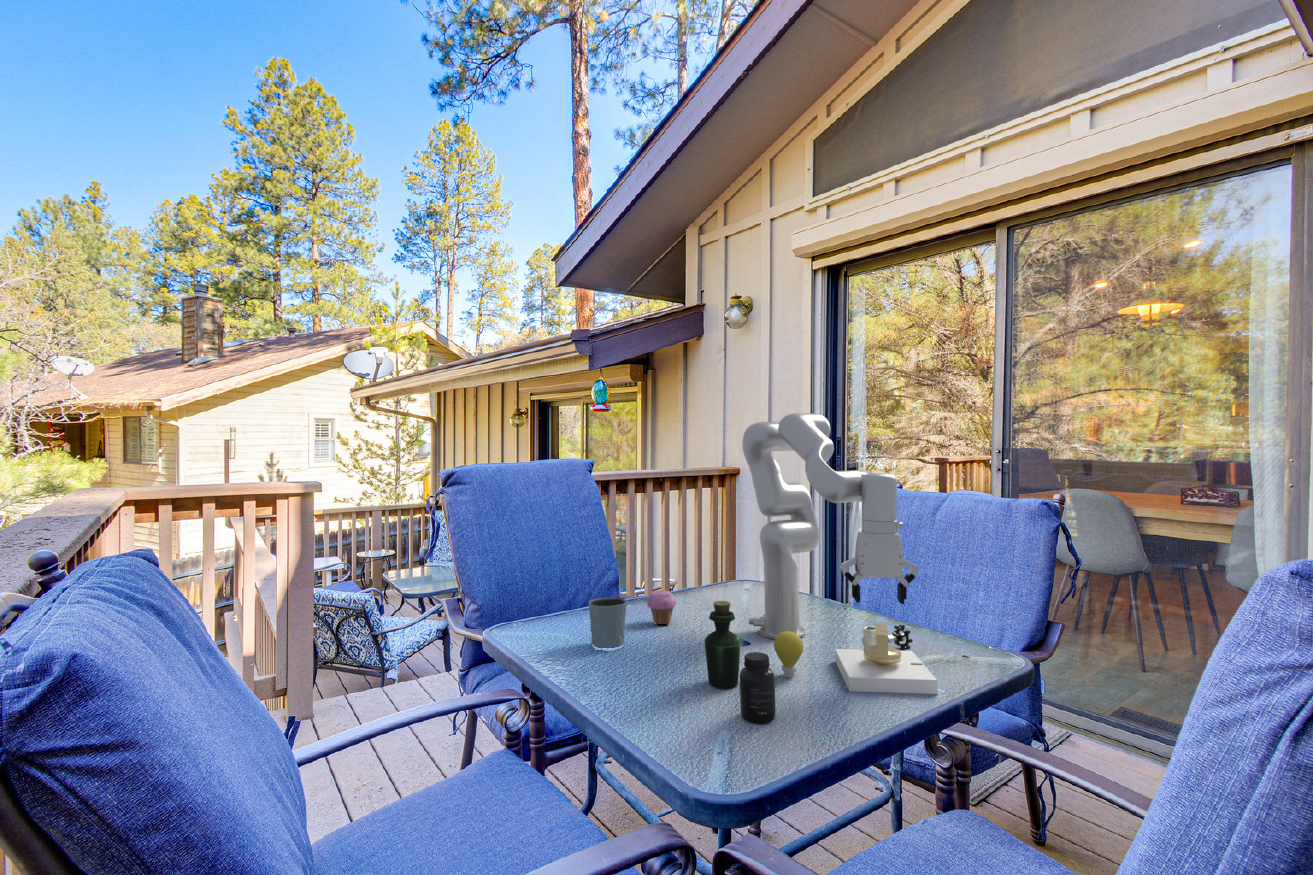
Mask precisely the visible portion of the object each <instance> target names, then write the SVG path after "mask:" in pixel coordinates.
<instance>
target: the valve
mask: <svg viewBox="0 0 1313 875" xmlns="http://www.w3.org/2000/svg"><path fill="white" fill-rule="evenodd" d="M893 627H894V631H893V632H892V633H891V634H890V635H889V634H888V644H890V643H894V645H895V646H898V647H899V651H910V650H911V645H910V644H912V643H913V638H912V637H910V636H909V635H910V634H911V630H910V629H905V628H906V626H905V624H902V623H901V624H899V625H898V624H897V625H895V624H894V625H893ZM900 632H903V633H900ZM904 641H905V642H904ZM861 642H862V645H863V649H864V648H865V647H867V646H871V645H876V626H870V625H868V626H863V636H862V641H861Z"/></svg>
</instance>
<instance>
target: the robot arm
mask: <svg viewBox="0 0 1313 875" xmlns="http://www.w3.org/2000/svg"><path fill="white" fill-rule="evenodd" d="M830 424H831V423H830V422H829V421H828V419H827V418H826V417H825V416H824V415H821V413H820V414H819V413H811V412H810V413H808V412H807V413H806V412H805V413H804V412H803V413H799V412H798V413H796V412H795V413H790V414H789V413H788V414H787V415H785V416H784V417H782V418H781V419H780V421H760V422H754V423H752V424H750V425H749V426H748V427H747V428H746V429H745V430H744V433H743V436H742V443H741V444H742V446H741V447H742V452H743V456H744V458H745V461H746V463H747V465H748V468H749V471H750V474H751V479H752V484H753V488H754V492H755V497H756V501H757V502H756V503H757V506H758V509H759V512H760V513H761V514H762V515H763V516H765V517H769V518H770V517H771V518H772V517H773V518H774V517H788V516H789V517H790V519H783V520H774V521H770V522H767V523H766V524H764V526H762V528H761V529H760V532H759V542H760V547H761V552H762V560H763V579H764V580H763V581H764V582H763V583H764V585H763V586H764V613H763V614H762V615H763V616H759V617H748V625H753V627H759V633H760V634H761V635H762V636H764V637H766V638H769V639H772V640H775V639H776V637H777V636H778V635H779V634H780V633H782V632H785V631H790V632H793V633H795V634H797V635H798V636H799V637H800V638H801V639H802V638H803V637H804V636H806V628H804V627H803V626H801V625H800V623H801V622H800V591H799V590H800V588H799V587H800V582H799V580H800V579H799V578H800V577H799V567H798V565H797V564H796V562H795V560H794V559H793V557H792V555H793V554H803V553H807V552H811V551H814V550H816V548H818V547H819V546H818V545H819V544H820V530H819V525H818V521H817V516H816V512H815V508H814V504H813V499H812V496H811V494H810V492H809V490H808V488H807V487H806V486H805V485H804V484H802V483H798V482H785V481H784V479H783V478H784V477H783V475H782V471H781V468H780V466H779V464H778V462H777V461H776V459H775V458H774V456H772V455H771V454H770V452H778V451H779V452H783V451H784V452H786V451H788V452H790V451H794V452H795V453H796V454H797V455H798V456H799V457H800V458H801V459H802V460H803V461H804V462H805V463H804V464H805V465H804V470H805V475H806V478H807V479H806V480H807V481H808V483H809V484H810V486H811V487H812V489H814V491H816V492H817V493H818V494H819V495H820V496H821V497H822V498H823V499H825V500H826V501H828V502H830V503H833V504H843V503H859V502H861V531H858V532H857V536H856V539H855V540H856V543H855V547H854V548H855V549H854V550H855V551H854V557H851V558H850V559H848V560H845V561H844V562H841V563H840V564H839V568H840V569H841V571H842V574H843V575H844V576H845V578H846V579H847V580H848V581H849V582H850V583H851V597H852V598H853V599H854V601H855V602H856V603H857V604H859V603H861V585H860V582H861V581H862V580H863V579H864V578H869V579H870V578H875V579H876V578H877V579H897V580H898V583H897V587H896V588H897V591H896V592H897V599H896V600H897V601H898V603H900V604H901V605H905V600H907V596H908V595H907V594H908V593H907V589H908V586H909V585H910V583H911V582H912V581H914V580H915V578H916V575H917V574H918V572H919V571H920V567H919V566H918V565H917V564H915V563H912V562H911V561H909V560H907V559H905V558H904V554H903V553H904V552H903V546H902V539H901V535H900V533H899V532H898V530H900V529H904V523H903V522H900V521H898V519H897V516H898V513H897V511H898V510H897V508H898V507H897V498H898V496H897V492H898V490H897V487H898V485H897V484H898V482H897V478H896V476H895V475H894V474H891V473H885V472H872V471H869V470H860V469H859V470H837V471H836V470H834V469H833V468H831V466H829V465H828V464H827V462H828V461H829V460H830V459H831V458H832V456H833V454H834V450H835V447H834V446H835V445H834V443H833V441H832V439H830V436H831V429H832V428H831V425H830ZM852 566H854V570H855V573H854V574H853V575H852V574H851V573H850V572H849V568H850V567H852ZM905 567H907V568H908V569H909V572H908V573H907V574H906V575H905V576H903V575H904V571H905V570H904V568H905Z"/></svg>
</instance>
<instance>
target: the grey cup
mask: <svg viewBox="0 0 1313 875" xmlns="http://www.w3.org/2000/svg"><path fill="white" fill-rule="evenodd" d="M627 606H628V605H627V600H626V599H625V598H622V597H615V596H605V597H604V596H603V597H596V598H593V599H590V600H589V601H588V612H589V620H590V635H591V637H590V638H591V645H592V644H593V645H594V646H595V647H598V648H615V647H619V646H621V645H622V644H623V643H624V644H625V626H626V613H627V612H626V611H627Z"/></svg>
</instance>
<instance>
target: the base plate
mask: <svg viewBox="0 0 1313 875" xmlns="http://www.w3.org/2000/svg"><path fill="white" fill-rule="evenodd" d="M899 651H900V652H901V661H900V662H898V663H895V664H878V663H875V662H872V661H869V660H867V659H865V658H864V649H856V648H854V649H852V648H851V649H850V648H849V649H848V648H847V649H846V648H834V653H835V655H834V658H835V659H834V660H835V661H834V662H835V663H836V666H837V667H838V670H839V672H840V675H841V676H842V679H843V681H844V683H845V685H846V686H847V689H848V691H849V692H856V693H858V692H859V693H860V692H862V693H863V692H864V693H865V692H866V693H886V694H889V693H891V694H915V695H916V694H917V695H918V694H923V695H938V679H937V678H936V677H935V676H934V675H933V673H932V672H931V671H930V670H929V669H928V667H927V666H926V665H925V664H924V663H923V662H922V661H921V659H920V658H918V656H917V655H916V654H915V652H914V651H912V650H899Z"/></svg>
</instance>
